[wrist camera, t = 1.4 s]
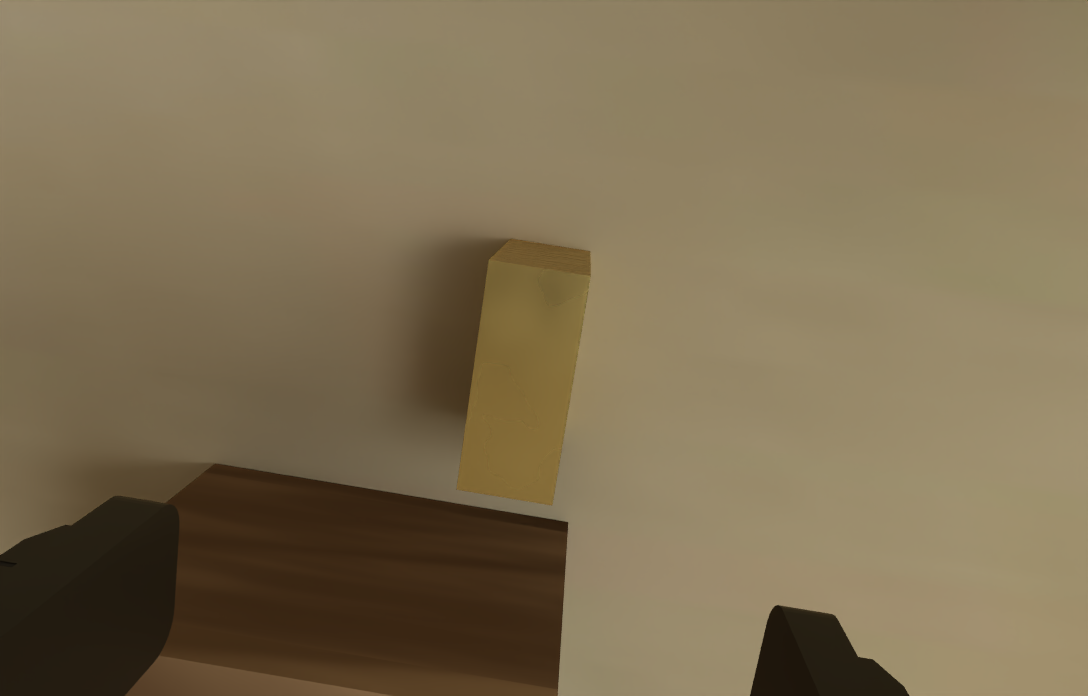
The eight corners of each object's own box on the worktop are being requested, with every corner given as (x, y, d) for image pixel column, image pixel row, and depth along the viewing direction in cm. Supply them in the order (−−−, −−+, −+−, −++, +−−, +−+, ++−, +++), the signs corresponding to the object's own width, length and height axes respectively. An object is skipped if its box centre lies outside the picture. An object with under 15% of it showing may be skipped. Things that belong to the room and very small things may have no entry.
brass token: (511, 238, 26) (488, 259, 21) (590, 251, 26) (590, 276, 21) (484, 420, 28) (456, 489, 22) (560, 432, 28) (552, 505, 22)
